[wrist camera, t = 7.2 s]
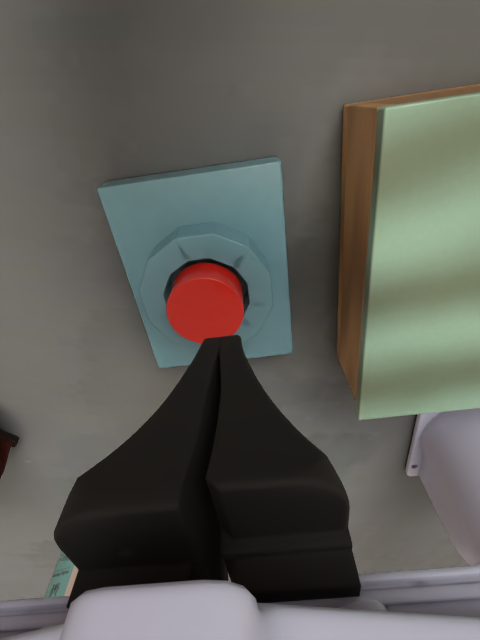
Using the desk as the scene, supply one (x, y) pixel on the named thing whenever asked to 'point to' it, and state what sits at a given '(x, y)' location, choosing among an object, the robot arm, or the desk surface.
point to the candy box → (361, 217)
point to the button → (205, 302)
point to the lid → (423, 262)
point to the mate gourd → (6, 448)
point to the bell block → (205, 247)
